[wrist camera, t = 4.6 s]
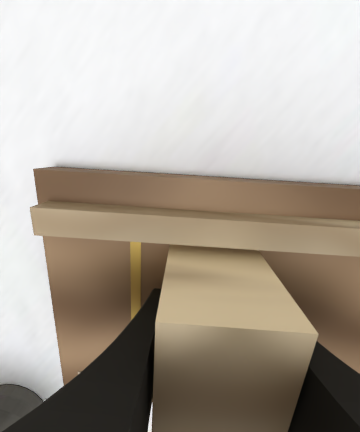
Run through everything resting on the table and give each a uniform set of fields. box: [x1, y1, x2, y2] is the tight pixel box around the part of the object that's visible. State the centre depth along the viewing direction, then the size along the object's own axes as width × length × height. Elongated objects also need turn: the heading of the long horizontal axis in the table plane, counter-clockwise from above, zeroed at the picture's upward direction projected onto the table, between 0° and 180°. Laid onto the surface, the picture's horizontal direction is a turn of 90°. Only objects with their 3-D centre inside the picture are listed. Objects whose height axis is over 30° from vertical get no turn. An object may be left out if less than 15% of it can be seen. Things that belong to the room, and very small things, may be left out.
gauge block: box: [152, 244, 319, 432], centre depth 9 cm, size 10×4×5 cm, turn 177°
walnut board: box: [30, 167, 360, 402], centre depth 11 cm, size 14×22×3 cm, turn 87°
